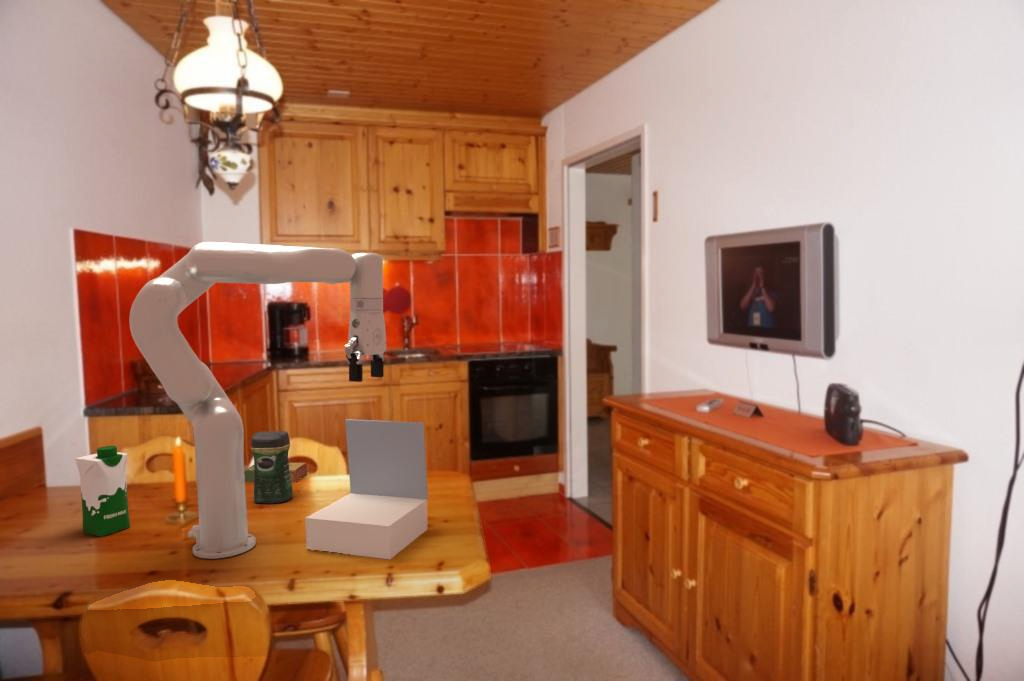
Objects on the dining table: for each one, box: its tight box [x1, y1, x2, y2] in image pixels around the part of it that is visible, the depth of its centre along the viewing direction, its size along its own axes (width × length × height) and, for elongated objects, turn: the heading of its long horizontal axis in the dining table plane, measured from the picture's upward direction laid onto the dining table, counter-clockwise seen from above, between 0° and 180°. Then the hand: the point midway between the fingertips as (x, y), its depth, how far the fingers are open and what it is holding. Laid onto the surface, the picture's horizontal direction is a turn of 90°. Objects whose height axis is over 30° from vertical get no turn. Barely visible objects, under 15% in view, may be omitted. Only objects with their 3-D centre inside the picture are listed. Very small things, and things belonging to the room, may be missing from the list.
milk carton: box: [75, 445, 131, 538], centre depth 159 cm, size 9×9×20 cm
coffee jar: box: [250, 430, 294, 504], centre depth 180 cm, size 10×8×19 cm
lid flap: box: [344, 418, 429, 501], centre depth 159 cm, size 20×18×4 cm
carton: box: [244, 462, 308, 483], centre depth 202 cm, size 8×16×4 cm, turn 84°
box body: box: [304, 492, 428, 560], centre depth 150 cm, size 20×18×7 cm
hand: (366, 379), depth 158 cm, fingers open, 9 cm apart
